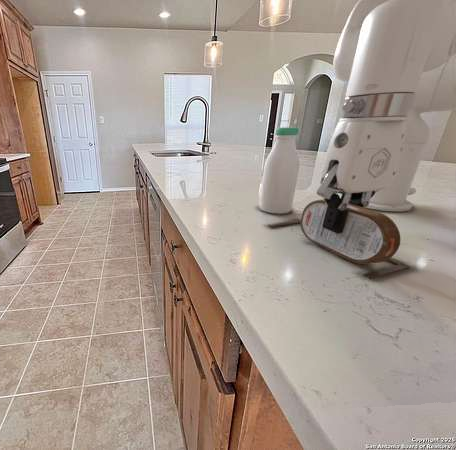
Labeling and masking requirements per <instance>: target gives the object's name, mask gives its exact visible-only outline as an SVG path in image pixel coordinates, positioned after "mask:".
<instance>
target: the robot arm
mask: <svg viewBox="0 0 456 450" xmlns="http://www.w3.org/2000/svg"><path fill="white" fill-rule="evenodd" d="M455 55H456V0H358V1H357V3H356V4H355V5H354V7H353V9H352V10H351V12H350V14H349V17H348V18H347V21H346V24H345V26H344V28H343V30H342V33H341V36H340V38H339V41H338V43H337V45H336V49H335V53H334V56H333V61H332V71H333V74H334V76H335V77H336V79H337V80H339V81H341V82H348V83H347V88H346V91H345V96H344V100H343V104H342V109H341V112H340V116H339V121H338V122H337V124H336V127H335V128H334V130H333V133H332V136H331V138H330V142H329V144H328V147H327V150H326V154H325V158H324V160H323V164H322V167H321V172H320V177H319V184H320V185H319V186H318V188H317V190H316V194H317V196H319V197H321V198H322V199H324V200H325V201H326V202H325V205H326V206H327V210H326V214H325V217H324V221H323V225H322V226H323V228H325V229H328V230H330V231H333V232H335V233H338V234H339V233H342V232H343V229H344V225H345V222H346V218H347V215H348V210H345V209H346V208H347V205H348V203H349V204H353V205H356V206H359V207H363V208H366V209H369V210H374V211H383V212H407V211H411V209H412V208H413V206H414V204H413V203H412V202H411V201H409V200H408V199H407V197H408V196H411V195H415V194H416V192H417V189H416V188H415V187H414V186H412V184H413V182H414V179H415V176H416V174H417V171H418V169H419V166H420V163H421V160H422V158H423V155H424V153H425V150H426V147H427V145H428V142H429V140H430V135H431V130H430V127H429V125H428V124H427V122H426V121H425V120H424V119H423V117H422V116H421V114H423V113H430V112H449V111H450V112H452V111H453V112H454V111H456V59H451V58H452V57H453V56H455ZM339 194H341V196H340V195H339Z"/></svg>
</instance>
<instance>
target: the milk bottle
mask: <svg viewBox="0 0 456 450" xmlns="http://www.w3.org/2000/svg"><path fill="white" fill-rule="evenodd" d="M298 134H299V127H297V126H283V127H281V126H280V127H277V128H276V129H275V142H274V145H273V146H272V148H271V150H270V152H269V154H268V155H267V157H266V159H265V162H264V167H263V168H264V169H263V173H262V180H261V185H260V195H259V202H258V207H259V210H260V211H263V212H266V213H270V214H287V213H289V212H291V211H292V207H293V202H294V198H295V193H296V186H297V181H298V176H299V169H300V158H299V157H300V156H299V153H298V150H297V145H296V140H297V138H298Z"/></svg>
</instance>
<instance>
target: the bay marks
mask: <svg viewBox="0 0 456 450" xmlns="http://www.w3.org/2000/svg"><path fill="white" fill-rule="evenodd" d="M296 224H301V219H296V220H295V219H294V220H290V221H285V222H279V223H278V222H277V223H273V224H269V225H268V227H269V228H270V229H274V228H280V227H284V226H285V227H286V226H291V225H296ZM385 262H389V263H390V264H393V265H391V266H388V267H384V268H380V269H376V270H373V271H369V272H365V273H363V275H362V276H364V277H365V278H367V279H369V280H372V279H376V278H379V277H383V276H386V275H390V274H393V273H397V272H400V271H404V270H408V269H411V268H412V266H411V265H409V264H406V263H404V262H402V261H399V260H397V259H394V258H392V257H391V258H390V259H388V260H386V261H385Z"/></svg>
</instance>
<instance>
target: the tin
mask: <svg viewBox="0 0 456 450" xmlns="http://www.w3.org/2000/svg"><path fill="white" fill-rule="evenodd" d="M325 202H326V201H325V200H324V198H322V199H317V200H313V201H311V202H309V203H308V204H307V205H306V206H304V208H303V210H302V213H301V217H300V220H301V223H300V228H301V231H302V233H303V235H304V236H305V237H306V239H307V240H308V241H310V242H312V243H313V244H315V245H318V246H319V247H322V248H323V249H325V250H328V251H330V252H331V253H334V254H335V255H337V256H339V257H342V258H343V259H345V260H347V261H350V262H352V263H354V264H361V265H367V264H368V265H369V264H380V263H383V262H387V261H386V260H388V259H390V258H392V257H394V255H395V254H397V252H398V250H399V248H400V245H401V239H402V238H401V233H400V230H399V227H398V226H397V224H396V223H395V222H394V220H393V219H391V218H390V216H388V215H386V214H384V213H382V212H379V211H377V210H374V209H369V208H364V207H359V206H356V205H353V204H349V203H348V205H347V208H346V209H345V210H348V215H347V218H346V222H345V225H344V229H343V232H342V233H339V234H338V233H335V232H333V231H330V230H328V229H325V228H323V226H322V225H323V221H324V217H325V214H326V210H327V206H326V205H325Z"/></svg>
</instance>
